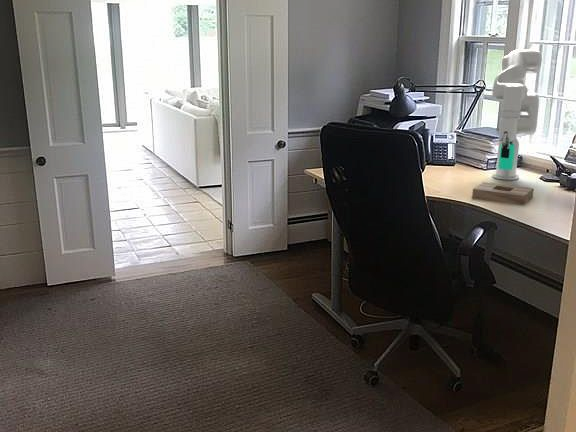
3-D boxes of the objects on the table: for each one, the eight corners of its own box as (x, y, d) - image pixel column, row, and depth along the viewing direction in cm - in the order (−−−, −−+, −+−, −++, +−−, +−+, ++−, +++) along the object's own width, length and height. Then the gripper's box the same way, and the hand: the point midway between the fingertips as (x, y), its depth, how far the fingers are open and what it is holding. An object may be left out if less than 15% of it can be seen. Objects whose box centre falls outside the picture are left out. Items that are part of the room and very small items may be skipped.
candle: (503, 170, 263) (506, 142, 259) (495, 167, 268) (498, 140, 265) (515, 169, 264) (518, 141, 261) (507, 166, 270) (510, 139, 266)
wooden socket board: (483, 190, 282) (484, 181, 281) (532, 197, 270) (533, 188, 269) (472, 197, 270) (472, 188, 269) (523, 204, 258) (524, 195, 257)
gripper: (507, 112, 269) (503, 153, 274) (496, 115, 255) (492, 158, 260) (525, 113, 265) (520, 154, 270) (514, 117, 251) (510, 160, 256)
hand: (506, 156), depth 265 cm, fingers closed on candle, 4 cm apart
